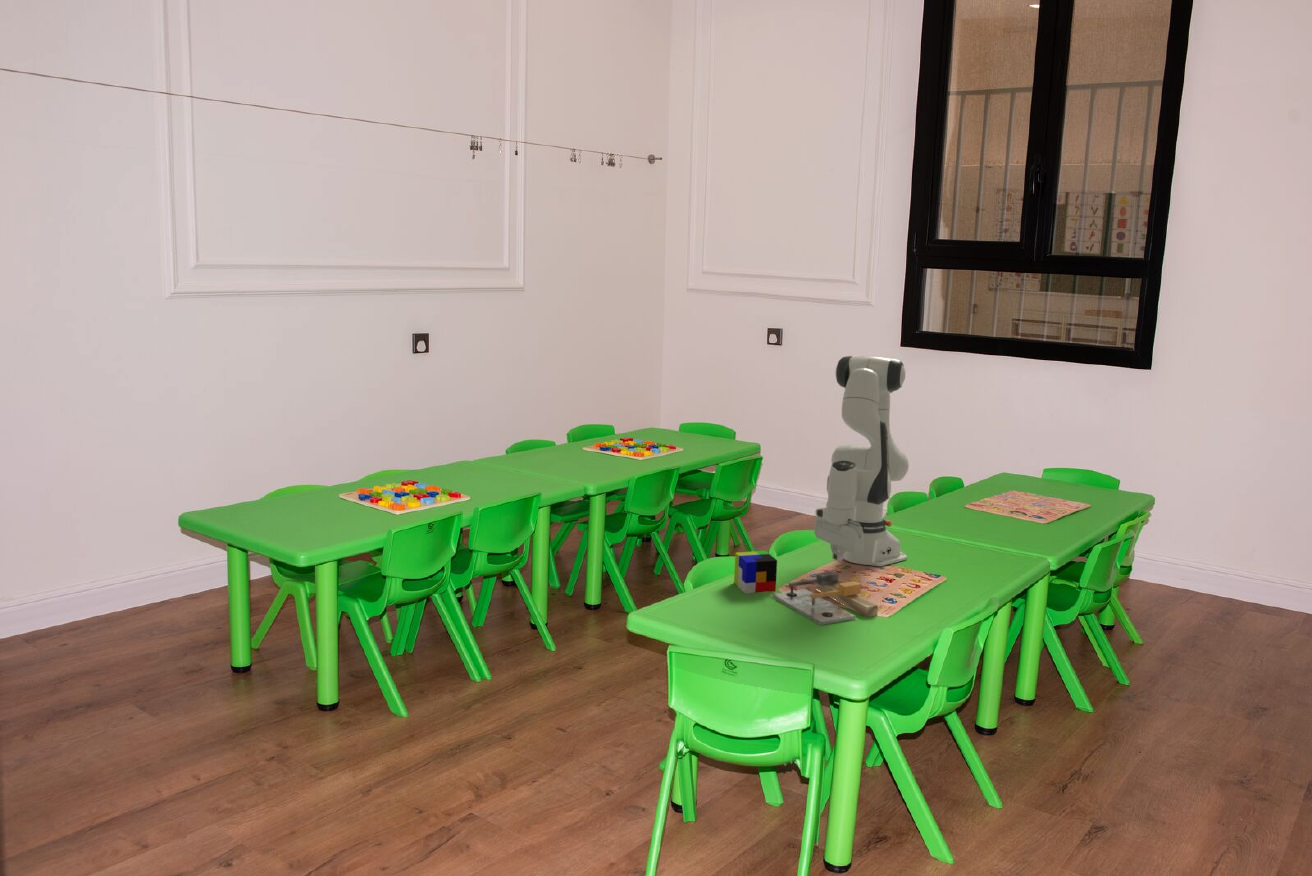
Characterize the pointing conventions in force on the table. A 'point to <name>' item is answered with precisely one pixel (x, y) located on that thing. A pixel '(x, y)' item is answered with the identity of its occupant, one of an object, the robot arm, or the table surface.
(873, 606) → the dividers rail
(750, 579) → the puzzle toy
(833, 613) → the bolt plate
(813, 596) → the sliding leg
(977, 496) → the table surface
